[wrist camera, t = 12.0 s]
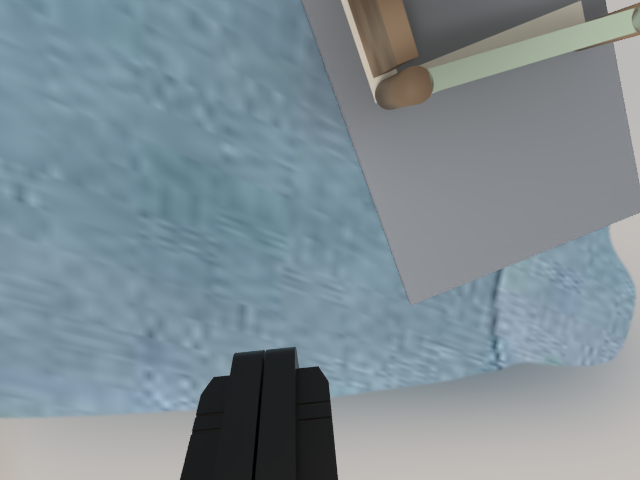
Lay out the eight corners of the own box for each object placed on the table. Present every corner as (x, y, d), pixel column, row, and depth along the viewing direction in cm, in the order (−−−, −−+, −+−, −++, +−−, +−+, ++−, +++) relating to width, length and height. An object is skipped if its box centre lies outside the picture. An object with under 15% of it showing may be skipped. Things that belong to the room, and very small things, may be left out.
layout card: (409, 303, 40) (411, 305, 40) (269, -88, 32) (269, -91, 31) (640, 209, 40) (645, 210, 40) (562, -205, 32) (566, -210, 31)
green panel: (379, 113, 35) (402, 109, 29) (371, 83, 34) (393, 71, 28) (591, 50, 36) (661, 31, 29) (588, 18, 35) (658, -7, 29)
